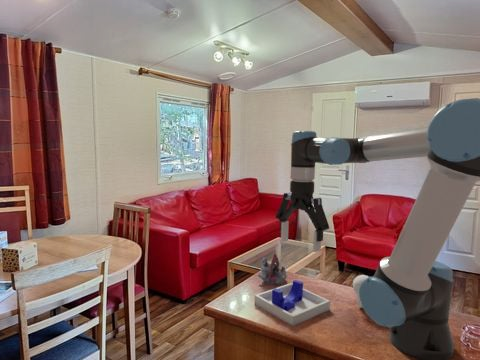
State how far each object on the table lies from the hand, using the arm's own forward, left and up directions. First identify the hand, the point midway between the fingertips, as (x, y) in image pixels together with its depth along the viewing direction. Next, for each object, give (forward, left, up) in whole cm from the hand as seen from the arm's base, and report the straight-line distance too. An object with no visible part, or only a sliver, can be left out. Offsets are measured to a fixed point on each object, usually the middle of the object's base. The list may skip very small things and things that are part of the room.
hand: (299, 245), depth 114 cm
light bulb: (-14, -15, -20) cm, 29 cm away
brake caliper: (+19, -6, -20) cm, 28 cm away
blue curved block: (0, +4, -19) cm, 19 cm away
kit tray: (0, +3, -20) cm, 20 cm away
